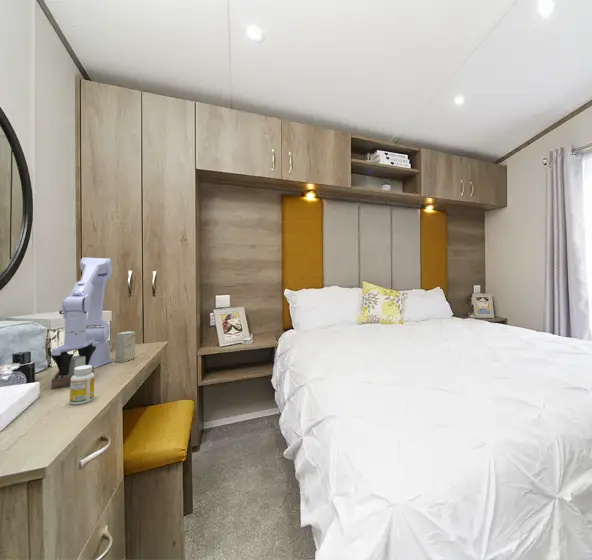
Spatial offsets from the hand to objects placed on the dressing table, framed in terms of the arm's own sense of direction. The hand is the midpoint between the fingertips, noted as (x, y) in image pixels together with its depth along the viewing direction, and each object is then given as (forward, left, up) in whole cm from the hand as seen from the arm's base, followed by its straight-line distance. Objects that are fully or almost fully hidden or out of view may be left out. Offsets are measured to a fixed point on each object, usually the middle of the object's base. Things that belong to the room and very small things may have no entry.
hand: (74, 371), depth 89 cm
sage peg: (0, 0, -3) cm, 3 cm away
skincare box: (-25, 0, -4) cm, 25 cm away
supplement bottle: (+14, +15, -4) cm, 21 cm away
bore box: (0, 0, -3) cm, 3 cm away
